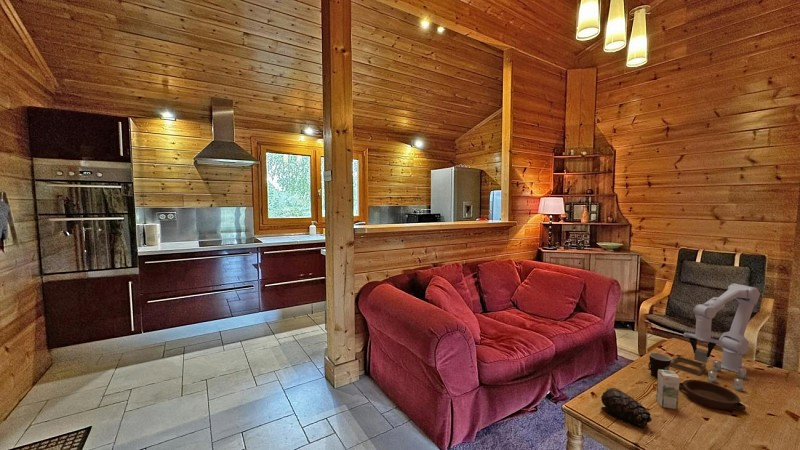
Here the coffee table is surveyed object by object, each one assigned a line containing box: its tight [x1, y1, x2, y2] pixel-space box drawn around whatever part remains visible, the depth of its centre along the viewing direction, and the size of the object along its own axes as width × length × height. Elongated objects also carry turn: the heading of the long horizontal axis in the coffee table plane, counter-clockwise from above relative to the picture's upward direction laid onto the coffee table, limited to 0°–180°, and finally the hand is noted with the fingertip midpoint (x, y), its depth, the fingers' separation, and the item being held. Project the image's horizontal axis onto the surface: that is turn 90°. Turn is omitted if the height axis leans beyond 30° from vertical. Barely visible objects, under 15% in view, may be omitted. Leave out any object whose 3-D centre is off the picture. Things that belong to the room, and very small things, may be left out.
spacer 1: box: [707, 369, 718, 384], centre depth 159 cm, size 3×3×5 cm
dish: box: [679, 379, 747, 412], centre depth 144 cm, size 18×22×5 cm
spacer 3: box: [736, 366, 748, 381], centre depth 162 cm, size 3×3×5 cm
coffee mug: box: [648, 352, 672, 379], centre depth 164 cm, size 12×9×10 cm
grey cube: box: [693, 347, 709, 364], centre depth 167 cm, size 4×4×5 cm
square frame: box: [669, 355, 707, 376], centre depth 172 cm, size 12×12×2 cm
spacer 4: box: [733, 377, 745, 393], centre depth 152 cm, size 3×3×5 cm
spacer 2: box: [712, 359, 722, 373], centre depth 169 cm, size 3×3×5 cm
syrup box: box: [655, 369, 680, 411], centre depth 141 cm, size 6×6×14 cm
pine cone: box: [600, 387, 653, 431], centre depth 133 cm, size 10×18×10 cm, turn 37°
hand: (701, 354), depth 168 cm, fingers closed on grey cube, 4 cm apart
